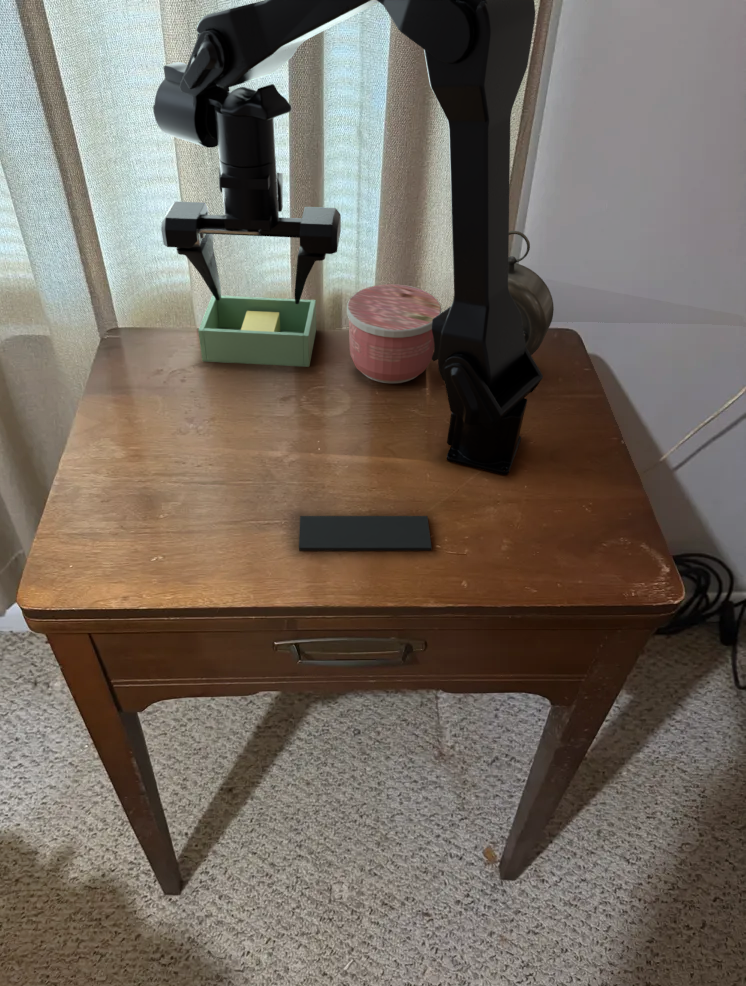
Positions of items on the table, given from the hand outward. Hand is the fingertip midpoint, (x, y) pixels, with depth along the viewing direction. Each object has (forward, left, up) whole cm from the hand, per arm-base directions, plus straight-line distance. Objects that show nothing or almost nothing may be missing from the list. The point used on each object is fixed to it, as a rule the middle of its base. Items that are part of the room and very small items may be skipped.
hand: (258, 300), depth 88 cm
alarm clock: (-27, -7, -6) cm, 29 cm away
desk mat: (-23, +25, -6) cm, 35 cm away
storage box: (0, 0, -6) cm, 6 cm away
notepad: (0, 0, -6) cm, 6 cm away
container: (-16, -2, -6) cm, 17 cm away
